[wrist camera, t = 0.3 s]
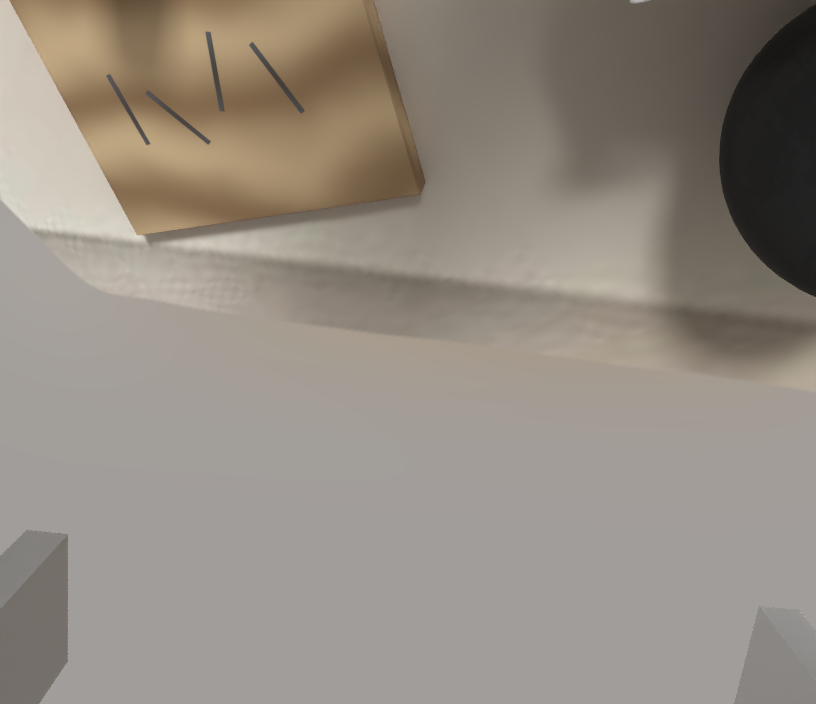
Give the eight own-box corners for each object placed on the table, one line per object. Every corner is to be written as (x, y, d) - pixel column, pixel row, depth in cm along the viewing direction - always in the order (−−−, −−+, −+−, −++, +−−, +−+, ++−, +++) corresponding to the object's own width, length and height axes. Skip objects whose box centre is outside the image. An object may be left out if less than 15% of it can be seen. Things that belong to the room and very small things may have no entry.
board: (17, -24, 44) (0, -16, 43) (338, -123, 37) (327, -117, 36) (148, 223, 53) (137, 235, 52) (425, 182, 46) (419, 194, 45)
